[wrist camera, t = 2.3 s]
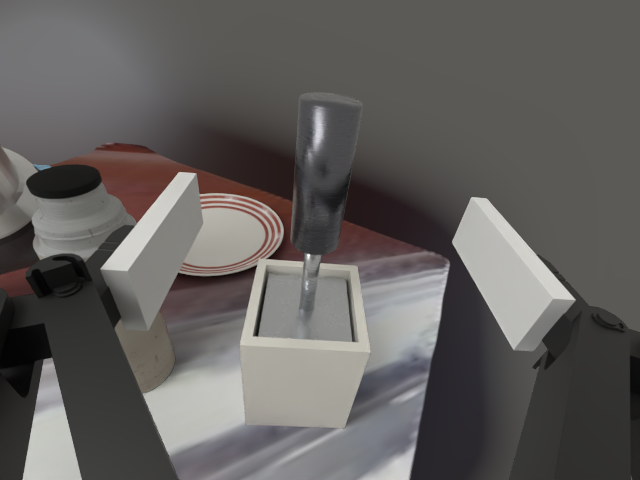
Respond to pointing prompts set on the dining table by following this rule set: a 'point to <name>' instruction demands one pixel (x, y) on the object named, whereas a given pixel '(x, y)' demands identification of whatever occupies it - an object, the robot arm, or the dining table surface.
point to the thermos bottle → (84, 239)
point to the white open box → (302, 360)
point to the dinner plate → (232, 236)
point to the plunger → (316, 223)
